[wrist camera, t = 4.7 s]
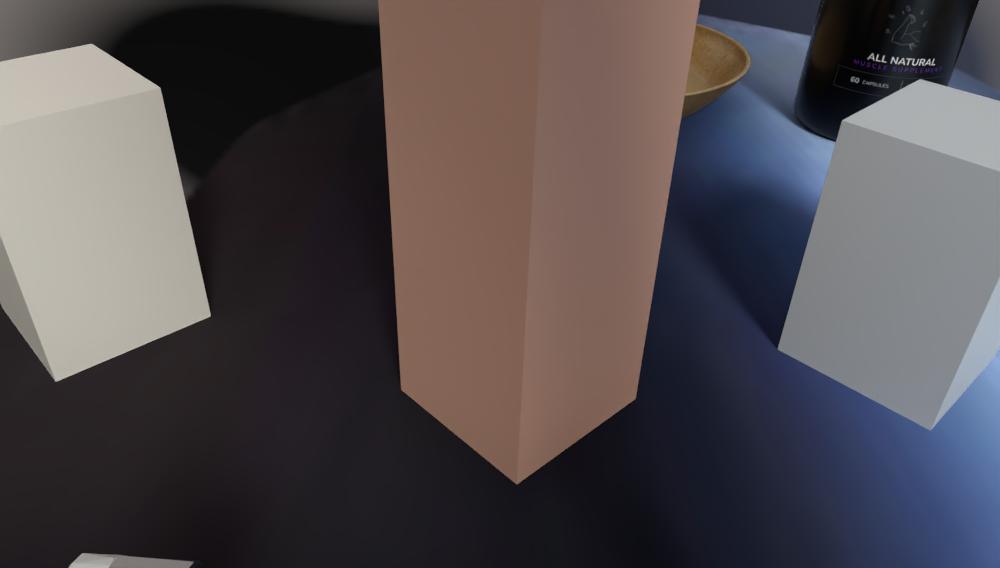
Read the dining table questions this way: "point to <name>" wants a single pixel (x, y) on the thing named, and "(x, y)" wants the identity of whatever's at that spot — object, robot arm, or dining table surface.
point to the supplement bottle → (876, 54)
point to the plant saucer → (712, 68)
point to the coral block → (528, 207)
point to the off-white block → (91, 211)
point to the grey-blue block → (905, 253)
